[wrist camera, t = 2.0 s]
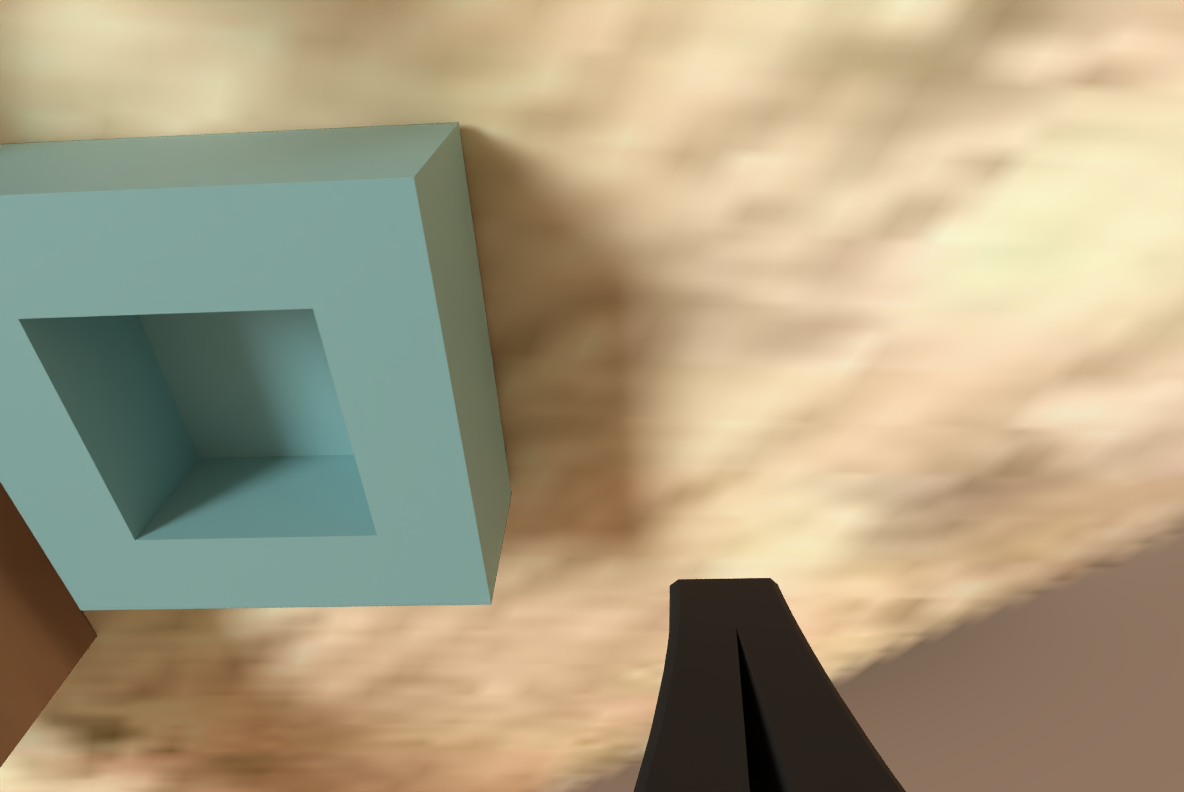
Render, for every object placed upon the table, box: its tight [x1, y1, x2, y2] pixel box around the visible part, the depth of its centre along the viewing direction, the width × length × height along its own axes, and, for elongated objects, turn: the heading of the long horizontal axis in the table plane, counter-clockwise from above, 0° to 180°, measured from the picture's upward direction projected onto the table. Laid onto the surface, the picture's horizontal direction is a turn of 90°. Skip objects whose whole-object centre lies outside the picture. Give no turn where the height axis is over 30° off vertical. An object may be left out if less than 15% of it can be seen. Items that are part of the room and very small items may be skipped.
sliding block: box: [0, 122, 511, 610], centre depth 16 cm, size 10×10×4 cm
